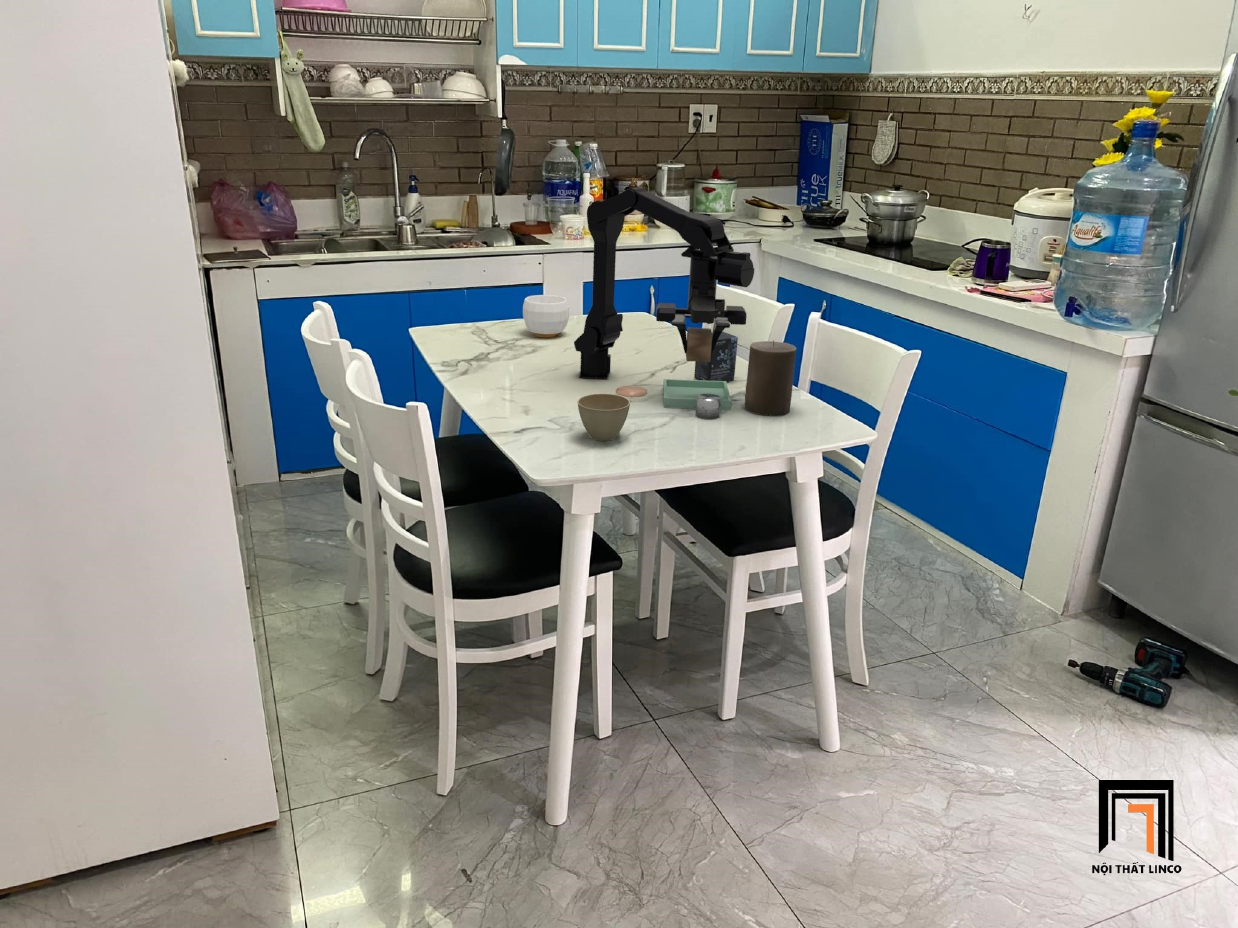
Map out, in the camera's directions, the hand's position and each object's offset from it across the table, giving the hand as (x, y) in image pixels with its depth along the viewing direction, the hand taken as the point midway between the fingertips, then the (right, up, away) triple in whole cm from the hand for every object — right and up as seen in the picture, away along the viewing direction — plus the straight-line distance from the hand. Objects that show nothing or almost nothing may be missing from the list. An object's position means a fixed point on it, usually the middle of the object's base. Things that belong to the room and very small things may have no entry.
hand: (698, 353), depth 200 cm
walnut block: (0, -1, 0) cm, 1 cm away
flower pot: (-20, -19, -20) cm, 34 cm away
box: (+5, -4, +18) cm, 19 cm away
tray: (0, -9, +4) cm, 10 cm away
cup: (-37, +11, +52) cm, 64 cm away
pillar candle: (+15, -12, -1) cm, 19 cm away
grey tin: (+1, -14, -6) cm, 15 cm away
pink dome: (-14, -8, +7) cm, 18 cm away
